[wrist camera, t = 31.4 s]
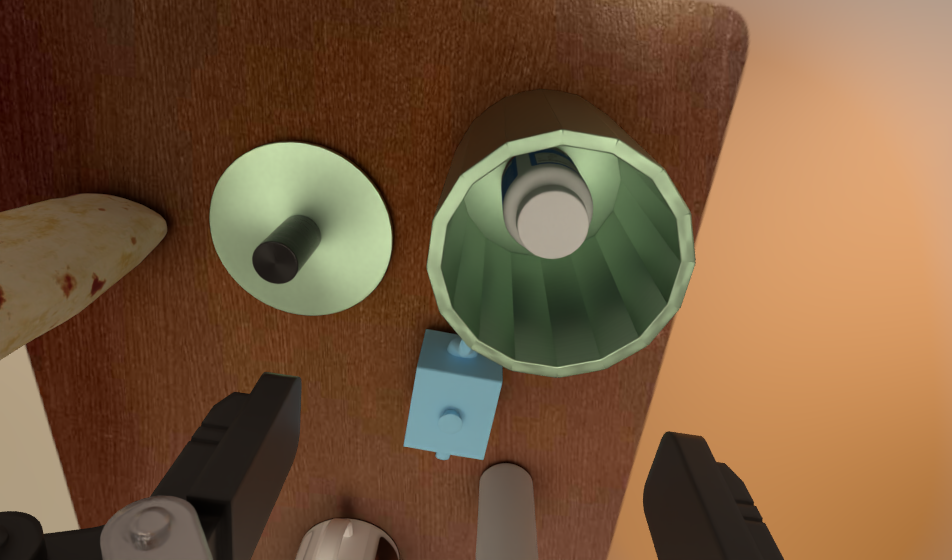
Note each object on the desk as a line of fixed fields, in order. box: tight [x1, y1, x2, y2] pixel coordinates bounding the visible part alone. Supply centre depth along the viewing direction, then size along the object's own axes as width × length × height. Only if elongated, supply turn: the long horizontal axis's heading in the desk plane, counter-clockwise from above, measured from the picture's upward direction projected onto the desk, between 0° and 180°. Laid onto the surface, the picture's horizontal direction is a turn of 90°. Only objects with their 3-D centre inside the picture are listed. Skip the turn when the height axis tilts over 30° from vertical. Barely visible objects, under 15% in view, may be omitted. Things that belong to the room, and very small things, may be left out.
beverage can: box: [476, 463, 538, 560], centre depth 48 cm, size 5×5×12 cm
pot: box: [427, 89, 696, 378], centre depth 35 cm, size 12×12×16 cm
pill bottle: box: [501, 147, 593, 259], centre depth 37 cm, size 6×5×10 cm
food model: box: [0, 193, 167, 360], centre depth 35 cm, size 10×7×20 cm
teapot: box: [404, 329, 502, 460], centre depth 45 cm, size 12×6×8 cm, turn 169°
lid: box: [209, 141, 393, 316], centre depth 41 cm, size 13×13×7 cm
